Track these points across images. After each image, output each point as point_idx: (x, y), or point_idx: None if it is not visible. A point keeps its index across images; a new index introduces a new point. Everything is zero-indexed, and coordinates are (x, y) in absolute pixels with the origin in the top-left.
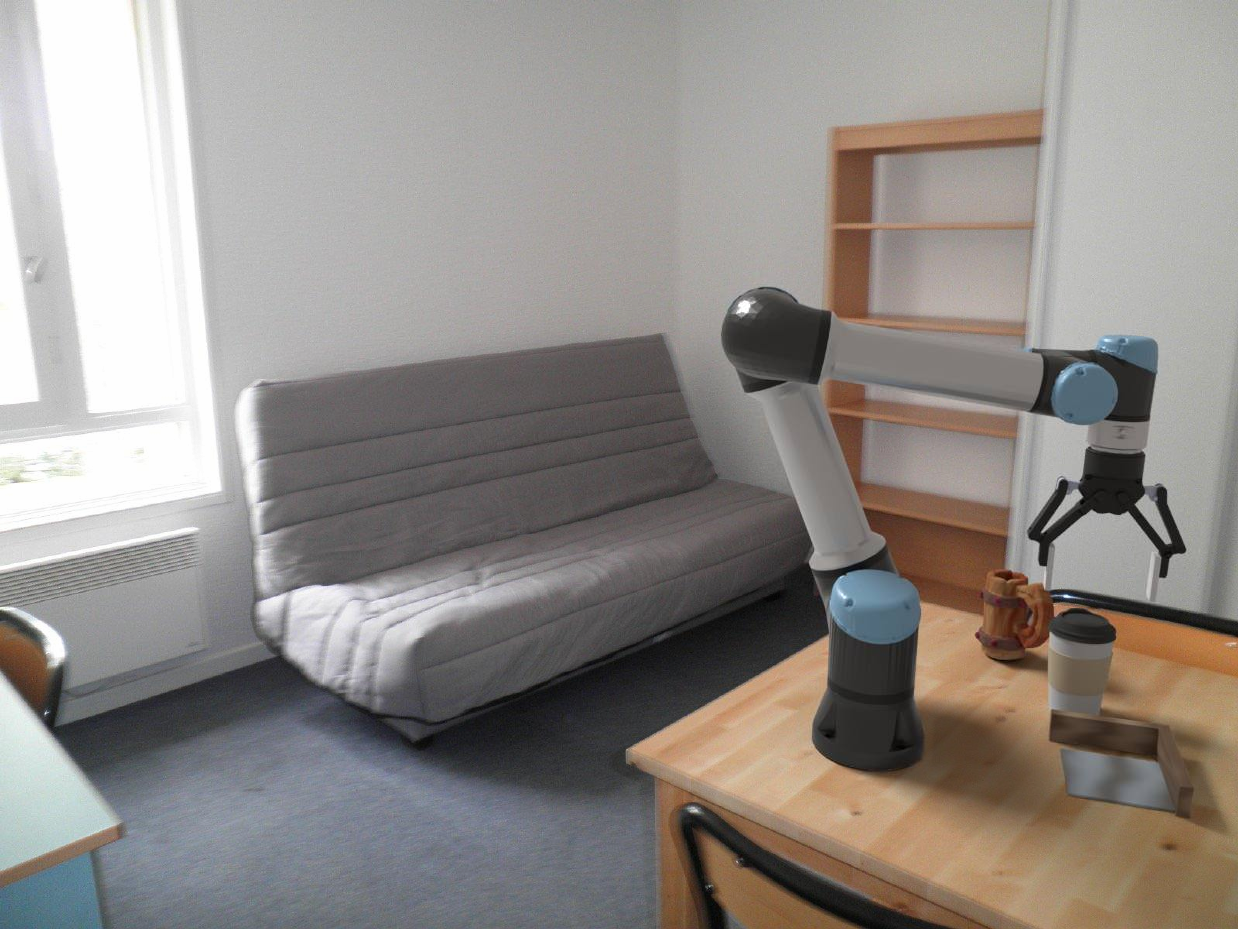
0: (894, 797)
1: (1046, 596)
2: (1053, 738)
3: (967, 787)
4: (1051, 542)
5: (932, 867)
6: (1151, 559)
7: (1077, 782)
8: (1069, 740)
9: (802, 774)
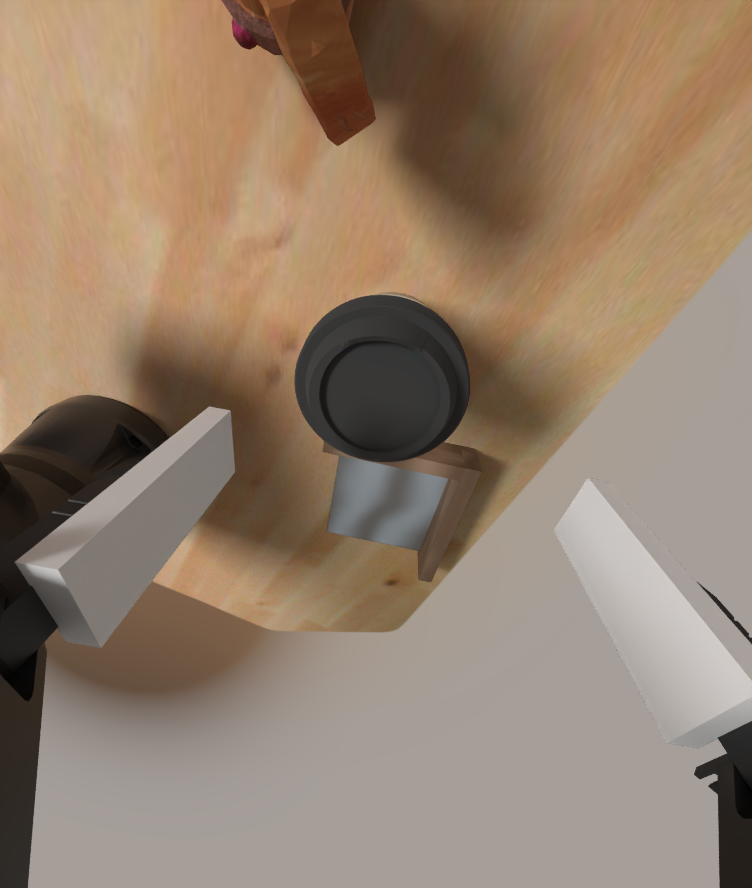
0: None
1: (321, 53)
2: None
3: (235, 522)
4: (43, 674)
5: (217, 600)
6: (698, 645)
7: (340, 516)
8: None
9: None
